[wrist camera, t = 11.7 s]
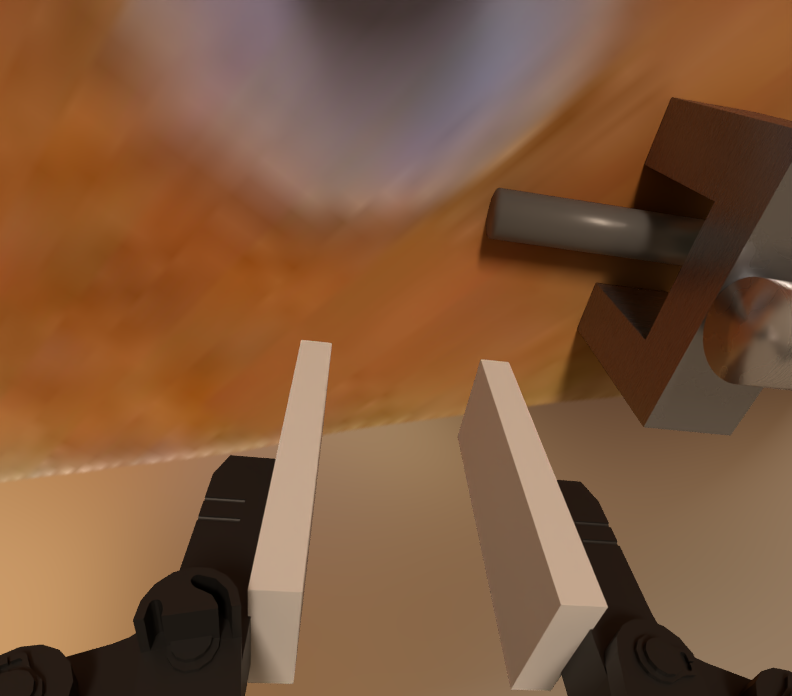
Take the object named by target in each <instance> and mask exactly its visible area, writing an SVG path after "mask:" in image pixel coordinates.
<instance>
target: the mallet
mask: <svg viewBox="0 0 792 696" xmlns="http://www.w3.org/2000/svg"><path fill="white" fill-rule="evenodd" d="M704 222H705V220H703V219H697V218H690V217H684V216H678V215H671V214H665V213H658V212H652V211H645V210H639V209H632V208H626V207H619V206H613V205H606V204H600V203H594V202H587V201H581V200H574V199H568V198H561V197H555V196H548V195H542V194H535V193H529V192H522V191H516V190H509V189H503V188H498V189H497V190H496V191H495V192H494V194H493V197H492V199H491V202H490V206H489V210H488V215H487V224H486V230H487V236H488V238H490V239H496V240H504V241H511V242H518V243H525V244H532V245H539V246H546V247H553V248H560V249H567V250H574V251H581V252H588V253H595V254H602V255H609V256H616V257H624V258H631V259H638V260H645V261H652V262H659V263H666V264H673V265H680V266H683V264H684V262H685V260H686V258H687V256H688V254H689V252H690V250H691V248H692V246H693V244H694V242H695V240H696V238H697V236H698V234H699V232H700V230H701V228H702V226H703V224H704Z"/></svg>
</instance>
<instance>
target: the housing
mask: <svg viewBox="0 0 792 696" xmlns="http://www.w3.org/2000/svg"><path fill="white" fill-rule="evenodd" d="M644 165H646V166H648V167H650V168H652V169H654V170H656V171H658V172H660V173H662V174H663V175H665V176H667V177H669V178H671V179H673V180H675V181H677V182H679V183H680V184H682V185H684V186H686V187H688V188H690V189H692V190H694V191H696V192H698V193H699V194H701V195H703V196H705V197H707V198H709V199H711V200H713V201H715V202H714V204H713V206H712V208H711V210H710V212H709V214H708V216H707V218H706V220H705V222H704V224H703V226H702V228H701V230H700V232H699V234H698V236H697V238H696V240H695V242H694V244H693V246H692V248H691V250H690V252H689V254H688V256H687V258H686V260H685V262H684V264H683V266H682V268H681V270H680V272H679V274H678V276H677V278H676V280H675V282H674V284H673V286H672V288H671V290H670V292H669V293H667V292H662V291H655V290H647V289H640V288H632V287H624V286H617V285H609V284H601V283H596V284H595V287H594V289H593V292H592V294H591V297H590V299H589V302H588V304H587V306H586V309H585V311H584V314H583V316H582V319H581V321H580V324H579V326H578V328H577V329H578V330H579V332H580V333H581V335H582V336H583V338H584V339H585V341H586V342H587V344H588V345H589V347H590V348H591V350H592V351H593V353H594V354H595V356H596V357H597V359H598V360H599V362H600V363H601V365H602V366H603V368H604V369H605V371H606V372H607V373H608V375H609V376H610V378H611V379H612V381H613V382H614V384H615V385H616V387H617V388H618V390H619V391H620V393H621V394H622V396H623V397H624V399H625V400H626V402H627V403H628V405H629V406H630V408H631V409H632V411H633V412H634V414H635V415H636V417H637V418H638V420H639V421H640V423H641V424H642V425H643V427H648V428H658V429H669V430H679V431H689V432H700V433H710V434H721V435H731V434H732V432H733V431H734V430H735V428H736V427H737V425H738V424H739V422H740V421H741V420H742V418H743V416H744V415H745V414H746V412H747V411H748V409H749V408H750V406H751V405H752V403H753V402H754V401H755V399H756V398H757V396H758V395H759V393H760V392H761V390H762V389H763V388H764V387H765V388H775V389H783V390H792V121H789V120H785V119H781V118H777V117H773V116H768V115H764V114H760V113H756V112H750V111H745V110H739V109H734V108H728V107H723V106H717V105H712V104H706V103H701V102H695V101H690V100H684V99H679V98H673V97H672V98H671V101H670V103H669V106H668V108H667V111H666V113H665V116H664V118H663V120H662V123H661V125H660V128H659V130H658V133H657V135H656V138H655V140H654V142H653V145H652V147H651V150H650V152H649V155H648V157H647V160H646V162H645V164H644Z"/></svg>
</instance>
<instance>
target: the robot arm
mask: <svg viewBox="0 0 792 696" xmlns="http://www.w3.org/2000/svg"><path fill="white" fill-rule="evenodd" d="M331 347H332V343H325V342H316V341H307V340H301V344H300V349H299V353H298V358H297V363H296V367H295V372H294V377H293V381H292V386H291V391H290V395H289V400H288V405H287V409H286V414H285V418H284V423H283V428H282V432H281V437H280V442H279V446H278V451H277V456H276V459H269V458H257V457H244V456H232V455H230V456H229V457H228V458H227V459H226V460H225V462H224V463H223V464H222V465H221V466H220V467H219V468H218V469H217V470H216V471H215V472H214V474H213V476H212V478H211V481H210V484H209V487H208V490H207V493H206V496H205V501H203V504H202V507H201V510H200V513H199V517H198V520H197V522H196V525H195V527H194V531H193V533H192V536H191V539H190V542H189V545H188V548H187V551H186V553H185V556H184V559H183V562H182V565H181V568H180V571H177V572H173V573H172V574H170V575H168V576H167V577H165V578H164V579H162V580H161V581H159V582H157V583H156V584H155V585H154V586H153V587H152V588H151V589H150V590H149V592H148V593H147V594H146V595H145V596H144V597H143V599H142V600H141V601H140V604H139V606H138V609H137V612H136V614H135V616H134V619H133V622H134V626H135V630H136V634H134V635H132V636H131V637H129V638H126V639H124V640H121V641H119V642H116V643H113V644H111V645H107V646H103V647H100V648H96V649H92V650H89V651H86V652H82V653H78V654H75V655H71V656H68V657H65V656H64V655H63V653H62V652H60V650H58V649H55V648H51V647H48V646H45V645H34V646H24V647H19V648H16V649H14V650H12V651H9V652H7V653H4V654H2V655H0V696H245V692H246V686H247V681H248V683H280V684H283V683H284V684H293V682H294V674H295V665H296V657H297V648H298V639H299V630H300V622H301V614H302V605H303V596H304V587H305V578H306V570H307V562H308V553H309V544H310V535H311V527H312V517H313V509H314V501H315V492H316V484H317V474H318V466H319V458H320V448H321V440H322V432H323V423H324V413H325V404H326V394H327V385H328V375H329V366H330V356H331ZM458 440H459V445H460V450H461V455H462V460H463V464H464V469H465V474H466V478H467V483H468V488H469V493H470V498H471V502H472V507H473V512H474V517H475V521H476V526H477V531H478V536H479V540H480V545H481V550H482V555H483V559H484V564H485V569H486V574H487V578H488V583H489V588H490V593H491V597H492V602H493V607H494V611H495V616H496V621H497V626H498V631H499V635H500V640H501V645H502V650H503V654H504V659H505V664H506V669H507V674H508V678H509V683H510V688H511V689H512V690H548V691H550V690H551V689H552V688H553V687H554V685H555V684H556V682H557V681H558V679H559V678H560V677H561V675H562V678H563V681H564V684H565V688H566V691H567V695H568V696H792V672H790V671H787V670H782V669H777V668H771V669H767V670H764V671H761V672H760V673H759V674H758V675H757V676H756V677H755V678H754V679H753V680H750V679H747V678H745V677H742V676H739V675H737V674H734V673H732V672H729V671H726V670H723V669H721V668H718V667H716V666H713V665H710V664H708V663H705V662H703V661H701V660H699V659H697V658H695V657H694V655H693V653H692V652H691V651H690V650H689V649H688V648H687V646H686V645H685V644H684V643H683V642H682V640H681V639H680V638H679V637H677V636H676V635H675V634H673V633H672V632H671V631H669V630H668V629H667V628H665V627H664V626H662V625H659V624H658V623H657V622H656V620H655V618H654V617H653V615H652V613H651V611H650V609H649V607H648V605H647V603H646V601H645V598H644V596H643V594H642V592H641V590H640V588H639V586H638V584H637V582H636V580H635V578H634V575H633V573H632V571H631V569H630V567H629V565H628V563H627V561H626V558H625V556H624V554H623V552H622V550H621V548H620V546H618V545H617V539H616V538H615V535H614V533H613V531H612V529H611V528H610V527H609V526H608V520H607V518H606V516H605V514H604V512H603V510H602V508H601V506H600V504H599V502H598V500H597V499H596V498H595V497H594V496H593V495H592V494H591V493H590V492H589V490H588V489H587V488H586V487H585V486H584V485H583V484H582V483H581V482H577V481H564V480H556V478H555V475H554V473H553V470H552V468H551V465H550V463H549V461H548V458H547V455H546V453H545V450H544V448H543V446H542V443H541V441H540V438H539V436H538V433H537V431H536V428H535V426H534V423H533V421H532V418H531V416H530V414H529V411H528V408H527V406H526V404H525V401H524V399H523V396H522V394H521V391H520V389H519V386H518V384H517V381H516V379H515V376H514V374H513V371H512V369H511V367H510V364H509V362H501V361H492V360H483V359H481V360H480V364H479V367H478V370H477V374H476V377H475V380H474V384H473V387H472V390H471V394H470V397H469V400H468V404H467V407H466V410H465V414H464V417H463V421H462V424H461V427H460V431H459V434H458Z"/></svg>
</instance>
